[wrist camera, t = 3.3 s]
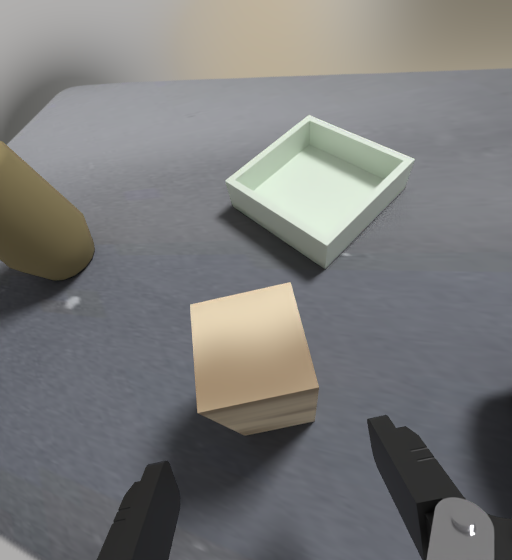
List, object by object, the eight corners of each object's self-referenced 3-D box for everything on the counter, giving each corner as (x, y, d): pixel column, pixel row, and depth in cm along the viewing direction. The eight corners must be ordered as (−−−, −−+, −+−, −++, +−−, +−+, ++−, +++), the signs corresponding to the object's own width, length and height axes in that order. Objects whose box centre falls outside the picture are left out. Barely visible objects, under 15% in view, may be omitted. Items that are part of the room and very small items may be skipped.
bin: (308, 143, 37) (308, 115, 34) (405, 188, 31) (415, 159, 28) (232, 206, 33) (225, 180, 30) (325, 269, 28) (327, 245, 25)
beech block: (235, 366, 25) (190, 304, 15) (297, 352, 24) (290, 282, 15) (244, 435, 22) (197, 412, 13) (314, 421, 22) (318, 387, 12)
